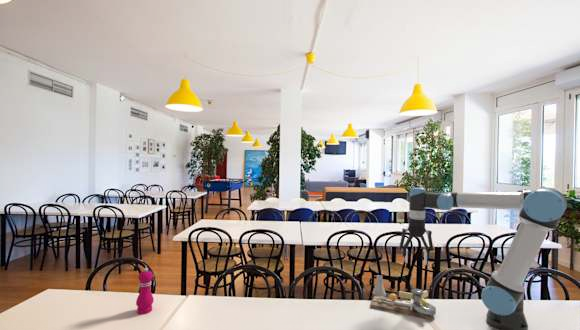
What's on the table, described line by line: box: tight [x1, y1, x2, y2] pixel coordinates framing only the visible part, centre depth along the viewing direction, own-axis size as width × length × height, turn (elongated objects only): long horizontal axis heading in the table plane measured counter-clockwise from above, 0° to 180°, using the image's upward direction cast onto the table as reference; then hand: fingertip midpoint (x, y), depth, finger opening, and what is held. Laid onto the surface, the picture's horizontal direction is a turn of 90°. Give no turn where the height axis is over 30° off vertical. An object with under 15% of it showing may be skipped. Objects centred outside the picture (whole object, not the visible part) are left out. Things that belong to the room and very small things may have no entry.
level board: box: [370, 294, 432, 321], centre depth 146 cm, size 27×12×2 cm, turn 67°
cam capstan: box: [398, 288, 437, 317], centre depth 144 cm, size 16×14×8 cm
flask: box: [371, 274, 387, 297], centre depth 161 cm, size 7×7×10 cm
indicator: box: [388, 293, 413, 310], centre depth 146 cm, size 11×8×5 cm
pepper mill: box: [135, 267, 154, 315], centre depth 137 cm, size 7×7×20 cm
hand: (415, 263), depth 150 cm, fingers open, 8 cm apart
